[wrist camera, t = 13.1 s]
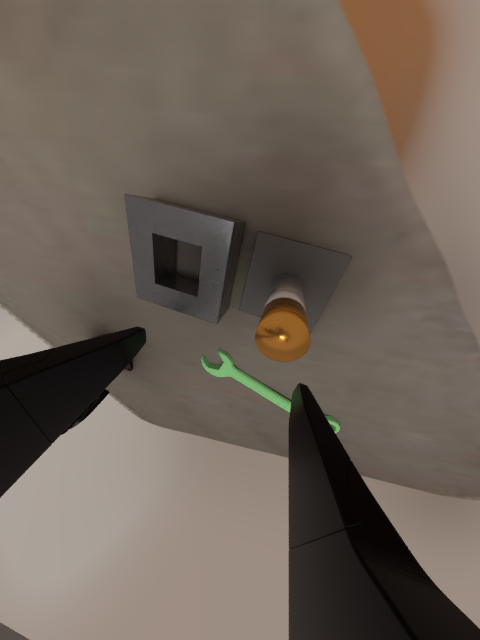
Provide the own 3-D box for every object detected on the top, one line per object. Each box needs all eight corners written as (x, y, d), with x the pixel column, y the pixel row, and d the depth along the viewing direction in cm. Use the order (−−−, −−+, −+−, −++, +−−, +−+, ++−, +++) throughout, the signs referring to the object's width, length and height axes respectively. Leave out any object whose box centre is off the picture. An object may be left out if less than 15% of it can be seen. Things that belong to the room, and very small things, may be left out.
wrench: (212, 338, 27) (201, 359, 30) (207, 346, 25) (196, 366, 28) (347, 422, 27) (323, 434, 30) (350, 434, 26) (324, 446, 29)
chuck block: (228, 308, 22) (216, 324, 19) (159, 286, 24) (137, 297, 20) (245, 222, 17) (233, 222, 14) (155, 198, 18) (124, 193, 15)
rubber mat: (310, 331, 21) (310, 333, 21) (240, 309, 22) (239, 310, 22) (350, 255, 16) (352, 256, 16) (258, 231, 17) (257, 231, 17)
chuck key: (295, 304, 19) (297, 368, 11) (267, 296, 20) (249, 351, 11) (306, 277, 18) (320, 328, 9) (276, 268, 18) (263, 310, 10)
